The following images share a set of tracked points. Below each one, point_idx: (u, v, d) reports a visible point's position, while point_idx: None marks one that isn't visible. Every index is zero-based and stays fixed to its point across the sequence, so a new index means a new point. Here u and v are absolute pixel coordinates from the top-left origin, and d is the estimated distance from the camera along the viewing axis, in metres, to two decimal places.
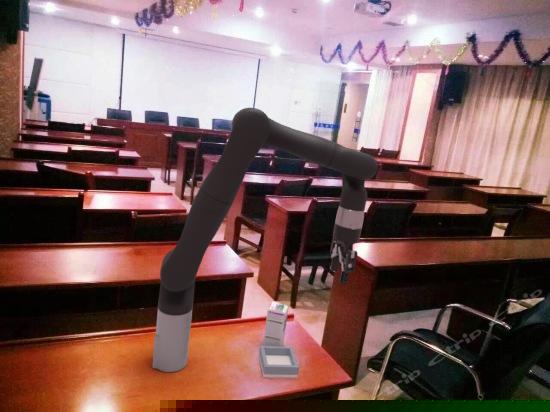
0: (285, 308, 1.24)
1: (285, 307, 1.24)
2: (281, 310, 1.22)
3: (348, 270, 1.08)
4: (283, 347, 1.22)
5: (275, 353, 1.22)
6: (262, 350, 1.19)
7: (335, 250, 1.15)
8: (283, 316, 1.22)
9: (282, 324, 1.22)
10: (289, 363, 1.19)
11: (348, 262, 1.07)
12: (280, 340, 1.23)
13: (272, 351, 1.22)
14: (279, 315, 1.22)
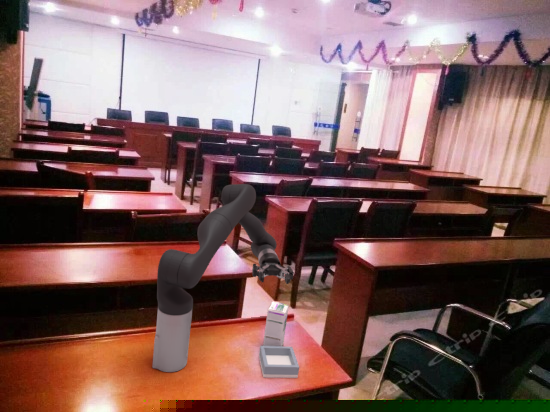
0: (285, 308, 1.24)
1: (285, 307, 1.24)
2: (281, 310, 1.22)
3: None
4: (283, 347, 1.22)
5: (275, 353, 1.22)
6: (262, 350, 1.19)
7: (268, 266, 1.40)
8: (283, 316, 1.22)
9: (282, 324, 1.22)
10: (289, 363, 1.19)
11: None
12: (280, 340, 1.23)
13: (272, 351, 1.22)
14: (279, 315, 1.22)
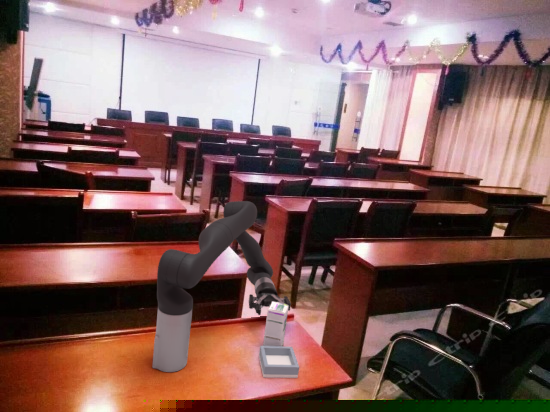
0: (285, 308, 1.24)
1: (285, 307, 1.24)
2: (281, 310, 1.22)
3: None
4: (283, 347, 1.22)
5: (275, 353, 1.22)
6: (262, 350, 1.19)
7: (264, 297, 1.38)
8: (283, 316, 1.22)
9: (282, 324, 1.22)
10: (289, 363, 1.19)
11: None
12: (280, 340, 1.23)
13: (272, 351, 1.22)
14: (279, 315, 1.22)
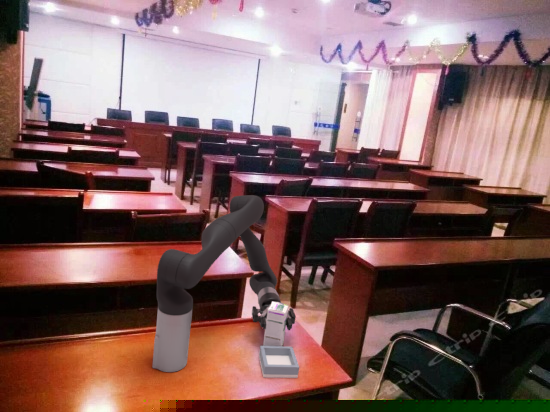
0: (285, 308, 1.24)
1: (285, 307, 1.24)
2: (281, 310, 1.22)
3: None
4: (283, 347, 1.22)
5: (275, 353, 1.22)
6: (262, 350, 1.19)
7: None
8: (283, 316, 1.21)
9: (282, 324, 1.22)
10: (289, 363, 1.19)
11: None
12: (280, 340, 1.23)
13: (272, 351, 1.22)
14: (279, 315, 1.22)
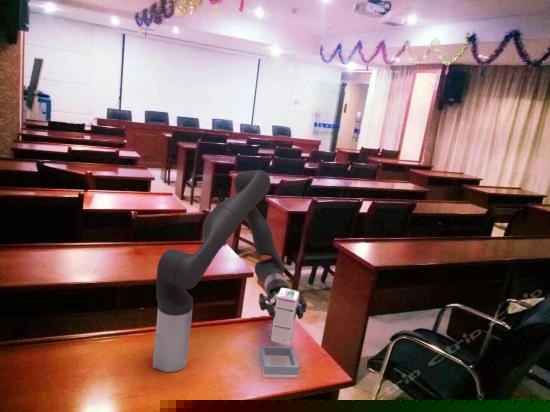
0: (296, 295, 1.13)
1: (295, 293, 1.14)
2: (292, 297, 1.11)
3: None
4: (283, 347, 1.22)
5: (275, 353, 1.22)
6: (262, 350, 1.19)
7: None
8: (294, 303, 1.11)
9: (293, 312, 1.11)
10: (289, 363, 1.19)
11: None
12: (290, 329, 1.13)
13: (272, 351, 1.22)
14: (289, 302, 1.11)
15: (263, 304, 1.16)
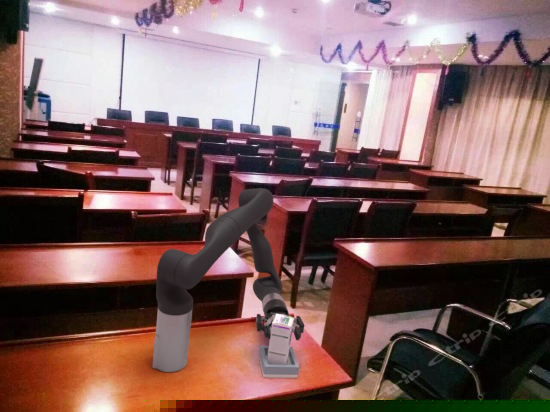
0: (290, 321, 1.15)
1: (290, 320, 1.15)
2: (286, 323, 1.13)
3: None
4: None
5: None
6: (262, 350, 1.19)
7: None
8: (289, 330, 1.12)
9: (288, 339, 1.13)
10: (289, 363, 1.19)
11: None
12: (285, 356, 1.14)
13: None
14: (284, 329, 1.12)
15: (259, 325, 1.17)
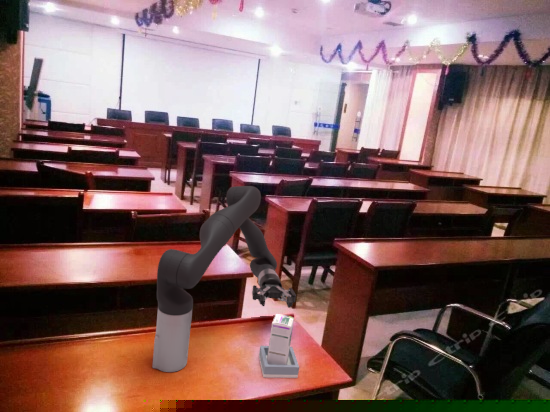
0: (290, 321, 1.15)
1: (290, 320, 1.15)
2: (286, 323, 1.13)
3: None
4: None
5: None
6: (262, 350, 1.19)
7: (269, 289, 1.33)
8: (289, 330, 1.12)
9: (288, 339, 1.13)
10: (289, 363, 1.19)
11: None
12: (285, 356, 1.14)
13: None
14: (284, 329, 1.12)
15: (255, 294, 1.30)
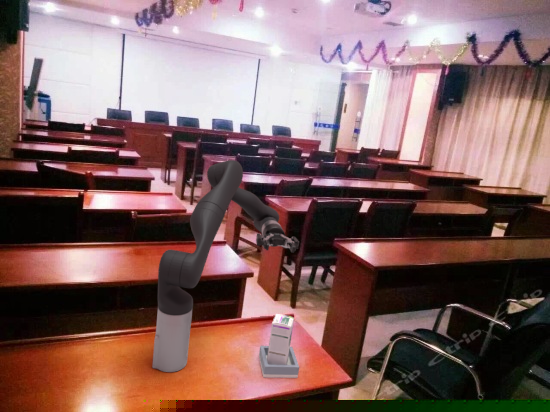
0: (290, 321, 1.15)
1: (290, 320, 1.15)
2: (286, 323, 1.13)
3: None
4: None
5: None
6: (262, 350, 1.19)
7: (272, 236, 1.36)
8: (289, 330, 1.12)
9: (288, 339, 1.13)
10: (289, 363, 1.19)
11: None
12: (285, 356, 1.14)
13: None
14: (284, 329, 1.12)
15: (258, 240, 1.33)
